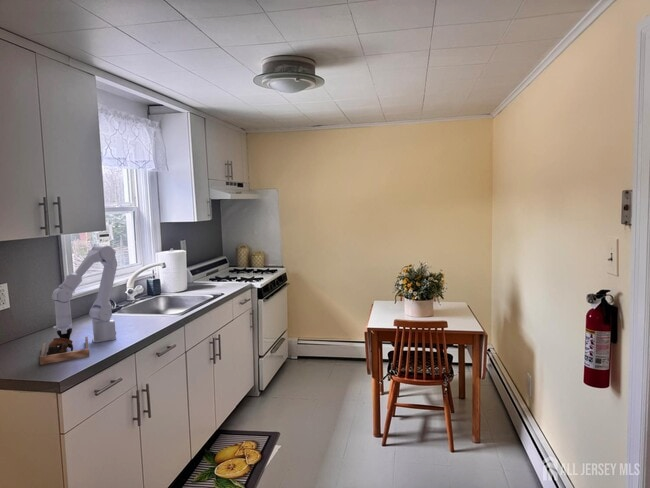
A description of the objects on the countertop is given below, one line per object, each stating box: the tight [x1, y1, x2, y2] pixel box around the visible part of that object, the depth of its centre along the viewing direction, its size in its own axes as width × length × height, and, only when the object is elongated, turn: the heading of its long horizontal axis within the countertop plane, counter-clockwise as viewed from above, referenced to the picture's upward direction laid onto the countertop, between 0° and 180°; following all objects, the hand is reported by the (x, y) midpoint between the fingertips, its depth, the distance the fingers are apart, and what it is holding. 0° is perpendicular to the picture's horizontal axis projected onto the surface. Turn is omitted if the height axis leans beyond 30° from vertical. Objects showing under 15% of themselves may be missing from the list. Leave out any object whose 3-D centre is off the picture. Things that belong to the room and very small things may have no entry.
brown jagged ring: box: [46, 337, 74, 356], centre depth 181 cm, size 12×10×8 cm
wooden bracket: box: [39, 336, 90, 365], centre depth 185 cm, size 17×23×3 cm
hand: (65, 346), depth 189 cm, fingers closed
